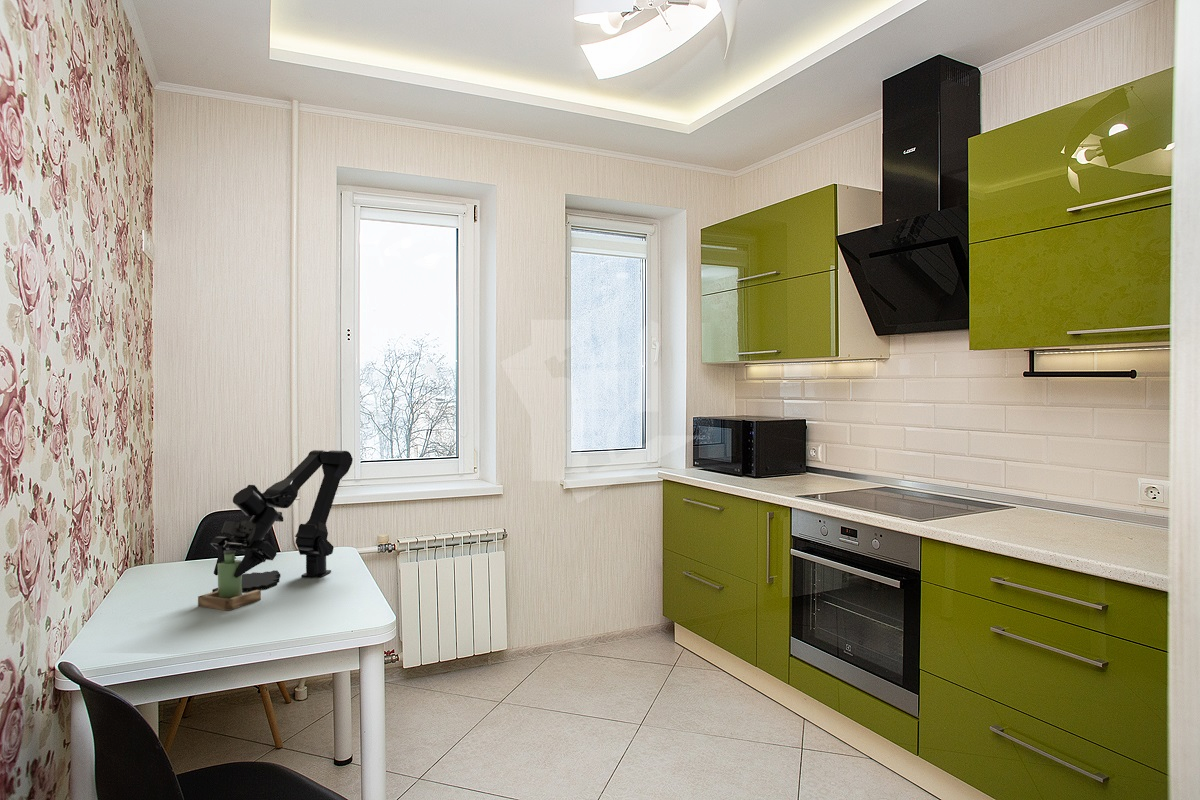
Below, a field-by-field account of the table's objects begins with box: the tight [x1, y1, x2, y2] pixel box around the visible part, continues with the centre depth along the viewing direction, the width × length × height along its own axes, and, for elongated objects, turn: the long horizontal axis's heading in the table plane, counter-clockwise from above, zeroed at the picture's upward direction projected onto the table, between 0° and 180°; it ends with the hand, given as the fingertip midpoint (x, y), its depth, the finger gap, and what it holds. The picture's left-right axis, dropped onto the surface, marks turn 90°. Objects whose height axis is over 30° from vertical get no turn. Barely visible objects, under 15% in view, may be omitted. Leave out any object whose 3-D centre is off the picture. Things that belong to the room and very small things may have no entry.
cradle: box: [197, 589, 262, 612], centre depth 183 cm, size 10×11×2 cm
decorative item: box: [211, 569, 281, 593], centre depth 202 cm, size 23×2×20 cm
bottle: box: [217, 549, 243, 599], centre depth 183 cm, size 6×6×13 cm
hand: (224, 575), depth 182 cm, fingers open, 7 cm apart
